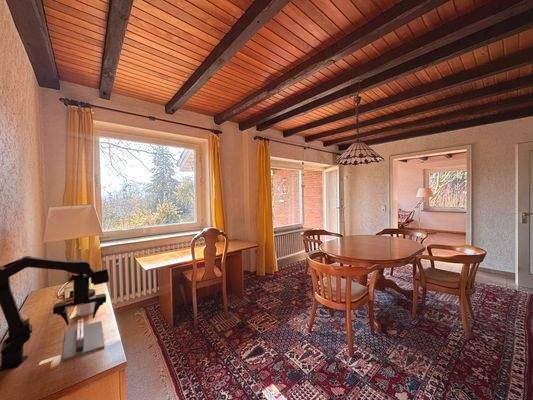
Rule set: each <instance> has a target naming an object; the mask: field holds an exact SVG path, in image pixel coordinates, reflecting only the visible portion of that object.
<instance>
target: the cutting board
mask: <svg viewBox="0 0 533 400" xmlns="http://www.w3.org/2000/svg"><path fill="white" fill-rule="evenodd" d="M102 323H103V322H102V320H99V321H95V322H92V323H91V322H90V323H88V324H83V339H84V349H83V350H82V351H80V352H76V341H77V330H78V326H75V327H73V328H68V329H66V330H65V331H66V332H65V337H64V343H63V351H62V359H61V362H62V363H63V362H66V361H68V360H69V361H70V360H73V359H75V358H76V359H77V358H78V357H80V356H84V355H88V354H90V353H91V354H92V353H94V352H96V350H97V351H100V350H102V348H103V349H105V348H104V347H106V345H105V337H104V330H103V324H102ZM80 339H81V325H80ZM99 349H100V350H99Z"/></svg>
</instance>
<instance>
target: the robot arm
mask: <svg viewBox="0 0 533 400" xmlns="http://www.w3.org/2000/svg"><path fill="white" fill-rule="evenodd" d="M27 268H33V269H43V270H44V269H45V270H56V271H57V270H58V271H65V272H68V273H70V274H71V275H70V276H69V277H68V278H67V280H68V282H72V281H73V285H72V286H73V287H72V290H70V291H69V299H73V301H72V302H68V303H67V302H66V301H65V300H64V301H61V302H56V303H54V305H53V308H52V314H53V315H57V316H61V317H62V319H63V320H64V323H66V326H69V316H68V309H69V308H73V307H74V308H75V307H77V306H79V305H83V304H88V303H92V302H95V305H94V311H93V313H92V319H95V317H96V315H97V312H98V310H99V309H100V306H103V304H106V303H107V294H105V293H101V294H96V298H91V299H89V289H90V285H91V284H93V286H97V285H102V284H107V283H109V281H110V276H109V271H108V268H103V269H97V270H94V269H93V268H91V265H90V263H89V262H88V261H87V260H86V259H72V260H71V259H69V260H62V259H55V258H53V259H52V258H44V257H37V256H36V257H35V256H30V255H25V256H23V257H21V258H19V259H17V260H14V261H12V262H9V263H6V264H4V265H2V266H1V265H0V307H1V311H2V314H3V315H4V319H5V320H6V323H7V326H8V330H7V331H8V332H7V333H8V335H7V337H6V338H5V339H4V340H3V341H2V343H1V348H0V356H1V357H0V363H1V364H0V371H4V370H10V369H15V368H18V367H19V366H20V365H21V364H22V363H23V362H24V361H25V360H26V359H28V357H29V355H24V345H25V344H26V343H28V341H29V340H30V339H31V334H33V325H32V324H31V322H30V321H31V320H30V318H26V319H24V318H23V317H22V315H21V312H20V309H19V307H18V304H17V302H16V298H15V297H14V293H13V291H12V288H11V277H12V276H14V275H16V274H18V273H19V272H21V271H23V270H24V269H27Z"/></svg>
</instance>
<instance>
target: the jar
mask: <svg viewBox="0 0 533 400" xmlns="http://www.w3.org/2000/svg"><path fill="white" fill-rule="evenodd" d="M96 295H97V294H96V289H94V288H89V299H91V298H96ZM94 305H95V302H92V303H88V304H83V305H79V306H76V315H78V316H79V317H83V316H89V315H92V314H93V311H94Z"/></svg>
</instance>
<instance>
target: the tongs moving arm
mask: <svg viewBox="0 0 533 400" xmlns="http://www.w3.org/2000/svg"><path fill="white" fill-rule="evenodd" d="M83 325H84V318H81V319H80V326H81V338H83Z"/></svg>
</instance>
